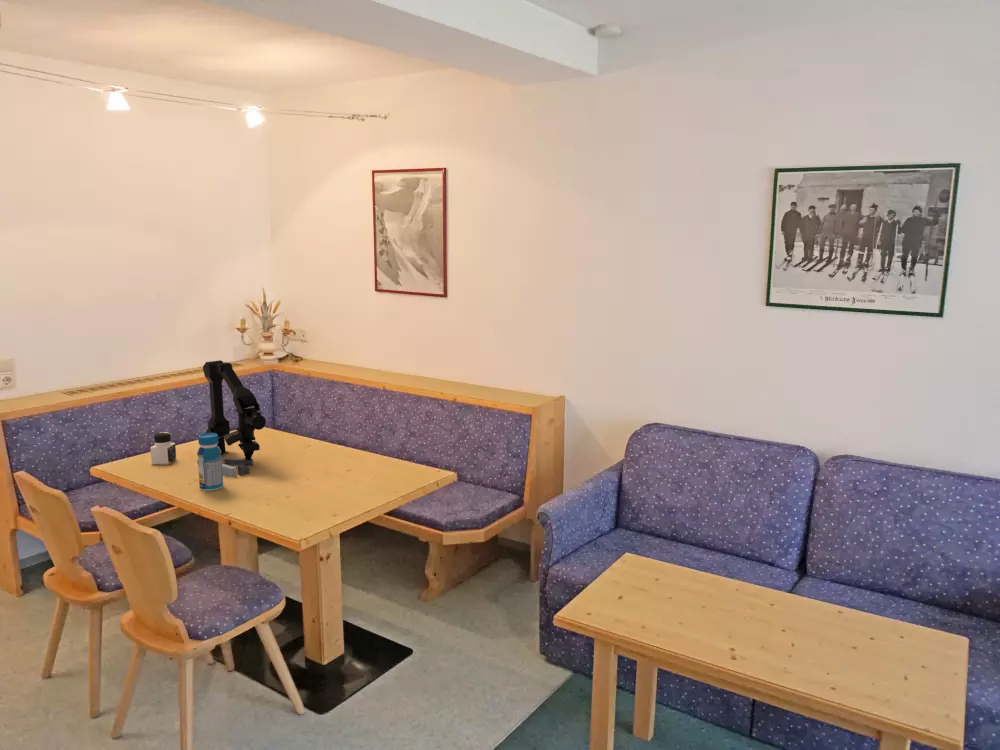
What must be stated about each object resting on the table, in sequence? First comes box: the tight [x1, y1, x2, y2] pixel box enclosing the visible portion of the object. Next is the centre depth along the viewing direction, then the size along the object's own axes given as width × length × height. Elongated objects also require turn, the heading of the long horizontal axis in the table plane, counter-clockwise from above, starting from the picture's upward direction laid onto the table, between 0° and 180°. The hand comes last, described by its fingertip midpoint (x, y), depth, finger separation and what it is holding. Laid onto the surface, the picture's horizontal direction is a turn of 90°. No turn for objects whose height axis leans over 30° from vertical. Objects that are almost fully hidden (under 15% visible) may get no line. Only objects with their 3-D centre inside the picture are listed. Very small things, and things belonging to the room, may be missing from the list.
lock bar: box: [222, 456, 254, 467], centre depth 305 cm, size 14×4×3 cm, turn 89°
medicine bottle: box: [150, 431, 177, 465], centre depth 311 cm, size 7×7×12 cm
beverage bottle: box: [196, 432, 224, 492], centre depth 279 cm, size 8×8×20 cm
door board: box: [222, 464, 238, 478], centre depth 299 cm, size 20×2×4 cm, turn 54°
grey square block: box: [237, 464, 250, 476], centre depth 297 cm, size 2×4×4 cm, turn 144°
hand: (247, 462), depth 307 cm, fingers closed
